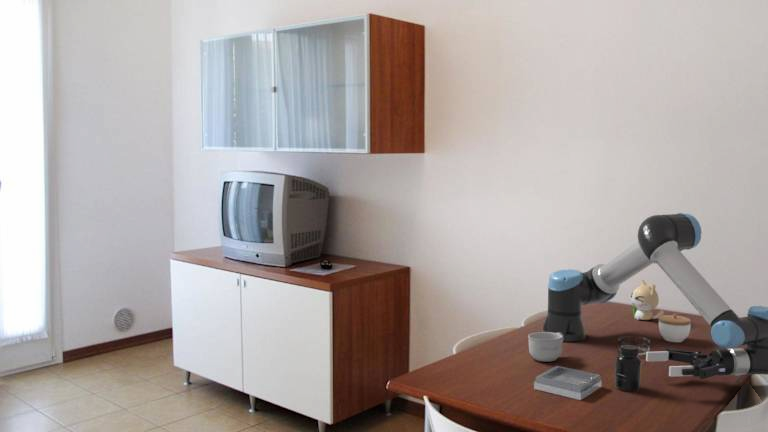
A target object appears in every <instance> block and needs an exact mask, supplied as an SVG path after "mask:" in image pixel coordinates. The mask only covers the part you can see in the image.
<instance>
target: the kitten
mask: <svg viewBox="0 0 768 432" xmlns="http://www.w3.org/2000/svg"><path fill="white" fill-rule="evenodd" d="M630 298H631V304H632V305H633V309H632V310H633V316H634V319H635V320H637V321H639V320H642V321H649V320H655V319H659V317H660V316H663V315H665V312H664V310H662V309H660V310H659V311H658V313H657V314H655V315H654V314H653V311H652V310H654V309H656V308H657V307H658V305H659V302H660V301H659V294H658V292H657V291H656V284H654V283H653V284H651V285H647V284H646V282H645V280H644V279H641V281H640V285H639V286H637V287H636V288H634V290H633V292H632V293H631V295H630Z"/></svg>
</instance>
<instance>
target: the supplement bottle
mask: <svg viewBox="0 0 768 432" xmlns="http://www.w3.org/2000/svg"><path fill="white" fill-rule="evenodd" d="M619 353H620V354H618V355H617V356H616V358H615V371H614V372H615V373H614V386H615V388H616V389H618V390H620V391H623V392H629V393H630V392H632V393H633V392H636V391H639V390H640V386H641V374H642V373H641V372H642V371H641V370H642V359H641V358H640V357H639V347H638V346H635V345H633V344H632V345H631V344H622V345H621V346H620V351H619Z"/></svg>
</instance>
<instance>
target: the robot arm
mask: <svg viewBox="0 0 768 432" xmlns="http://www.w3.org/2000/svg"><path fill="white" fill-rule="evenodd" d="M701 240H702V227H701V224H700V222H699V220H698V219H697V218H696V217H695V216H693V215H692V214H689V213H683V212H678V213H672V214H671V213H670V214H669V213H668V214H654V215H651V216H649V217H647V218H646V219H644V220H643V221H642V222H641V223H640V225H639V227H638V231H637V242H635V243H634V244H632V245H631V246H630V247H628V248H627V249H626V250H624V251H623V252H621V253H619V254H618V255H617V256H615V257H614V258H612V259H611V260H610V261H608V262H607V263H605V264H603V263H601V264H600V263H599V264H596V265H595V266H594V267H593V266H592V268H590V269H589V270H587V271H584V272H582V271H580V270H577V269H561V270H557V271H553V272H552V273H551V274H550V275H549V277H548V284H547V288H548V289H547V315H546V318H545V320H544V323H543V326H542V328H541V329H542V330H541V332H552V333H562V334H563V337H564V339H563V342H579V341H583V340H585V339H586V329H585V326H584V322H583V319H582V306H587V305H593V304H605V303H607V302H609V301H611V300H613V299H614V297H616V295H617V293H618V291H619V289H620V285H622V284H623V283H624V282H626V281H628V280H629V279H631V278H633V277H634V276H635V275H637V274H639V273H640V272H641V271H643V270H645V269H646V268H648V267H650V266H651V265H653V264H657V265H658V266H659V267H660V269H661V270H662V271H663V273H665V274H666V276H667V277H668V278H669V279H670V281H671V282H672V283H673V284H674V285H675V286H676V288H677V289H678V290H679V291H680V292H681V293H682V294H683V296H684V297H685V298H686V299H687V300H688V301H689V303H690V304H691V305H692V306H693V307H694V309H695V310H696V311H697V313H699V314H700V315H701V317H702V318H703V319H704V320H705V322H706V323H707V324H708V325H709V326H710V327H711V331H710V335H711V338H712V341H713V342H714V343H715V345H716V346H719V347H720V348H713V349H712V350H711V351H710V353H709V354H707V353H702V351H700V350H698V351H696V350H695V351H692V350H683V349H673V348H665V350H664V351H659V350H658V351H646V355H645V361H646V362H666V363H668V362H669V361H674V362H681V363H687V364H690V365H670V366H669V367H668V377H671V378H672V377H673V378H674V377H692V376H693V377H695V378H699V379H701V380H704V379H707V378H711V377H715V376H731V375H732V376H735V377H739V376H741V375H743V376H745V375H765V376H766V375H768V306H762V305H759V306H758V305H754V306H750V307H749V309H748V310H747V313H746V316H741V317H739V316H738V315H737V314H736V312H735V311H734V310H733V309H732V308H731V307H730V306H729V304H727V302H726V301H725V300H724V299H723V298H722V297H721V295H720V294H719V293H718V292H717V291H716V290H715V289H714V288H713V287H712V285H711V284H710V283H709V282H708V281H707V280H706V279H705V277H704V276H703V275H702V274H701V273H700V272H699V271H698V270H697V268H696V267H695V266H694V265H693V264H692V263H691V262H690V261H689V259H688V258H687V257H686V256H685V255H684V254H683V253H682V251H684V250H691V249H693V248H696V247H697V246H698V245H699V244H700V241H701ZM745 345H746V347H745V348H744V347H741V346H745ZM739 347H740V348H739Z"/></svg>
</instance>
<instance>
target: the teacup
mask: <svg viewBox="0 0 768 432" xmlns="http://www.w3.org/2000/svg"><path fill="white" fill-rule="evenodd" d="M527 335H528V336H527V338H528V350H529V351H528V352H529V355H530V356H531V357H532V358H534V360H536V361H538V362H546V363H548V362H556V361H557V359H558V358H559V357H561V356H562V353H563V342H564V341H563V339H564V337H563V334H562V333H552V332H542V331H538V332H532V333H529V334H527Z"/></svg>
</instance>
